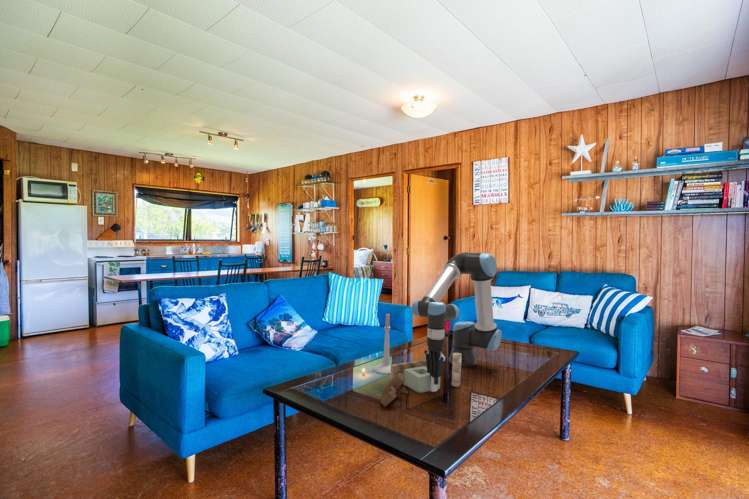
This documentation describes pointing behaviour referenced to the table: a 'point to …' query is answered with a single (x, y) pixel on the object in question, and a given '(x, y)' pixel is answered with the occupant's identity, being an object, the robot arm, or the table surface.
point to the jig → (405, 367)
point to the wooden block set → (393, 389)
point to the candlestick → (385, 352)
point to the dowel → (456, 369)
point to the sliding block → (418, 379)
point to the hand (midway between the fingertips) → (433, 390)
